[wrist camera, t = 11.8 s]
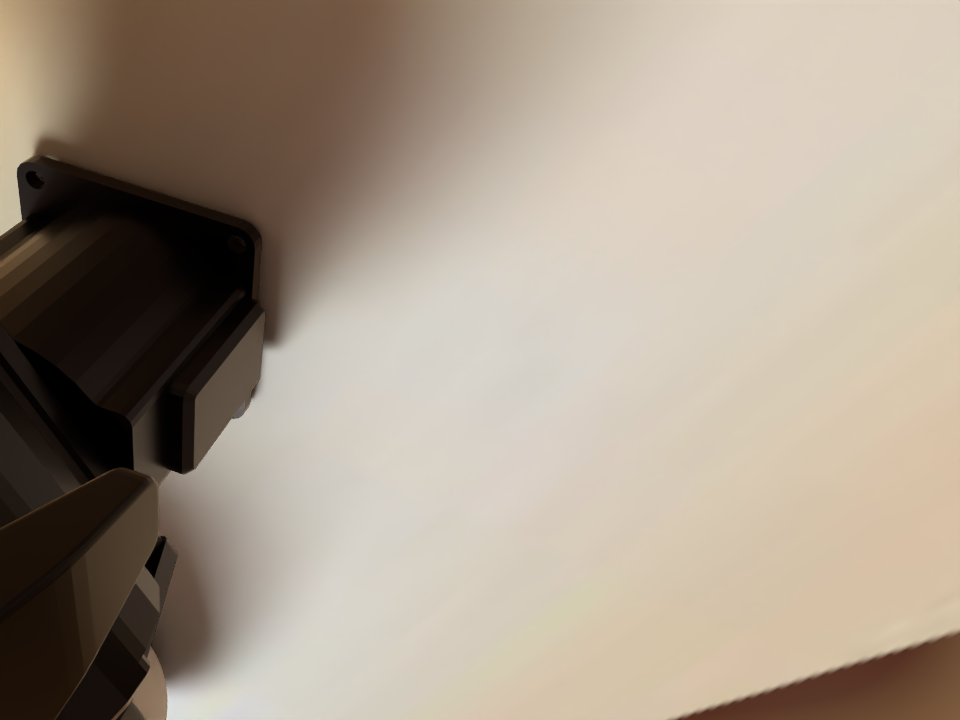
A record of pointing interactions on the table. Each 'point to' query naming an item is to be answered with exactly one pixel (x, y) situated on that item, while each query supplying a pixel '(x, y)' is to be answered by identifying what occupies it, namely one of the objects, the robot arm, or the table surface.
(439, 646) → the table surface
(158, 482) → the robot arm
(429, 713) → the table surface
